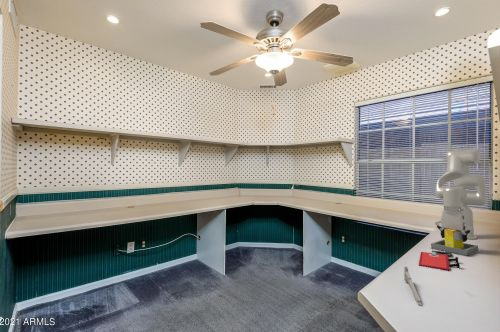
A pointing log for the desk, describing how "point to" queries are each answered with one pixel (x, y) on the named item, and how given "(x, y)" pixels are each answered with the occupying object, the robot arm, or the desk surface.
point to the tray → (466, 251)
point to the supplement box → (453, 238)
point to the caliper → (411, 285)
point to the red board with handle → (437, 260)
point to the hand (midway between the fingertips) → (453, 239)
